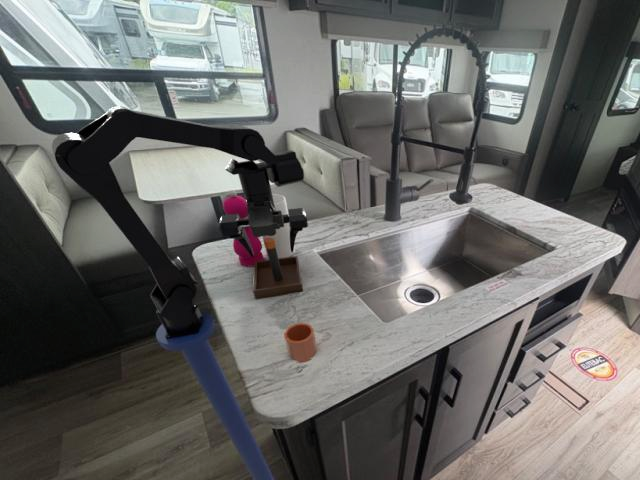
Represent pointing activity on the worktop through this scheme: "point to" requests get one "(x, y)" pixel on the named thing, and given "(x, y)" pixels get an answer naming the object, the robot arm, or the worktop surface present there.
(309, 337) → the pen cup
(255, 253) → the pepper mill
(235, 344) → the worktop surface
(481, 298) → the worktop surface
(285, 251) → the cup
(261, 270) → the tray
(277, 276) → the marker
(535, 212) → the worktop surface
